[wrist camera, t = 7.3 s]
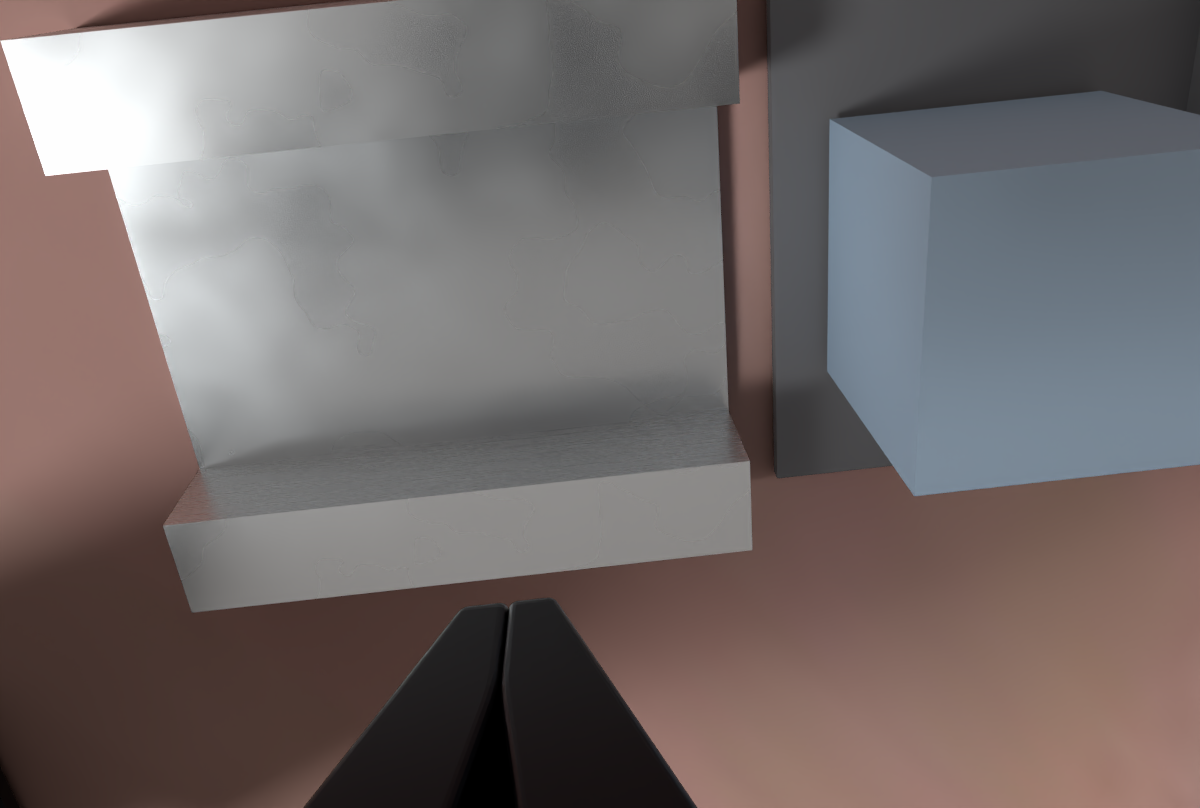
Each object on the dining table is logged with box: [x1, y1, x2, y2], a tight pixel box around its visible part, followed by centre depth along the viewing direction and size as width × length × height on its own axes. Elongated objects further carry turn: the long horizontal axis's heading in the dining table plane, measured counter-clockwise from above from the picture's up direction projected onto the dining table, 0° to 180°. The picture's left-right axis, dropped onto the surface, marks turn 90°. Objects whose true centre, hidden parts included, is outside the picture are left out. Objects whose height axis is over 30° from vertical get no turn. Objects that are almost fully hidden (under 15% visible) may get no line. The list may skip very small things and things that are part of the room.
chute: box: [1, 0, 752, 613], centre depth 18 cm, size 11×10×2 cm
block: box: [827, 91, 1200, 496], centre depth 16 cm, size 5×5×5 cm
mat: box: [767, 0, 1200, 478], centre depth 18 cm, size 9×10×2 cm
